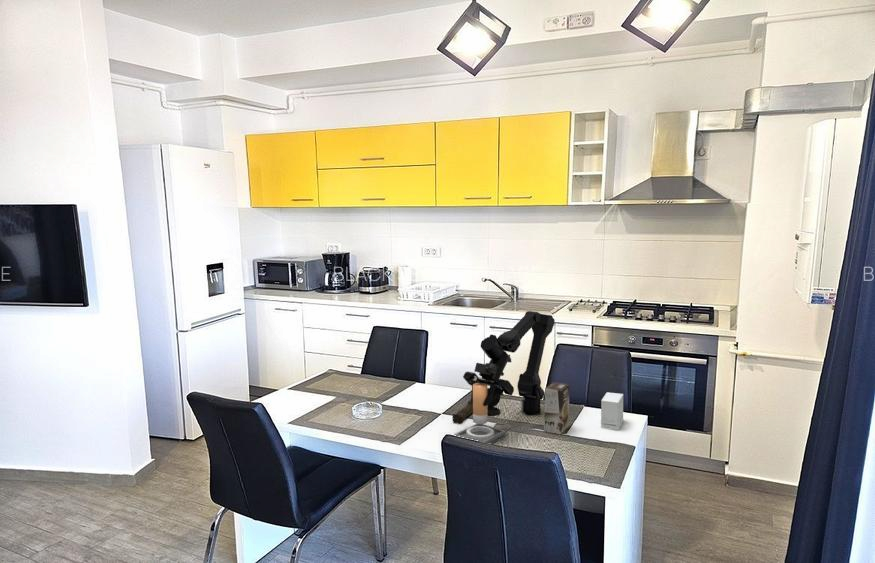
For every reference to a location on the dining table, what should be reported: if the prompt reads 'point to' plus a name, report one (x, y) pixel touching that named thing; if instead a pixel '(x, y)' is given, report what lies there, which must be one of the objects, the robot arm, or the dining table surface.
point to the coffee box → (556, 408)
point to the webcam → (491, 408)
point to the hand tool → (463, 413)
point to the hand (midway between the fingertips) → (477, 404)
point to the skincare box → (612, 411)
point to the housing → (482, 433)
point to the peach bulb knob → (479, 403)
